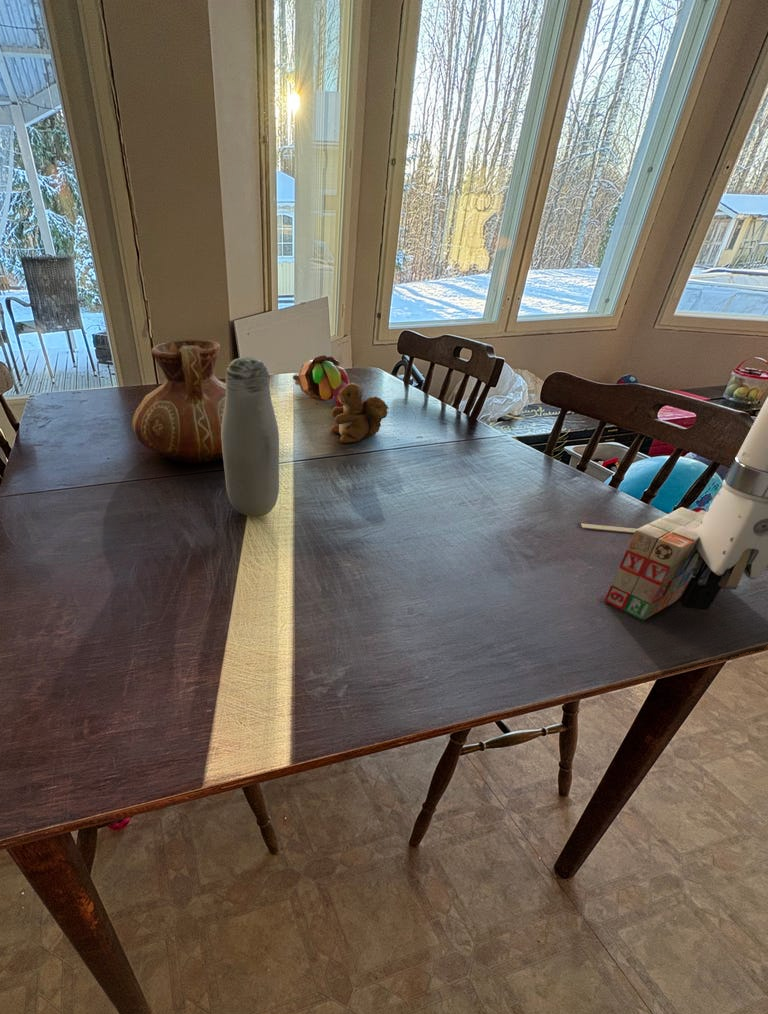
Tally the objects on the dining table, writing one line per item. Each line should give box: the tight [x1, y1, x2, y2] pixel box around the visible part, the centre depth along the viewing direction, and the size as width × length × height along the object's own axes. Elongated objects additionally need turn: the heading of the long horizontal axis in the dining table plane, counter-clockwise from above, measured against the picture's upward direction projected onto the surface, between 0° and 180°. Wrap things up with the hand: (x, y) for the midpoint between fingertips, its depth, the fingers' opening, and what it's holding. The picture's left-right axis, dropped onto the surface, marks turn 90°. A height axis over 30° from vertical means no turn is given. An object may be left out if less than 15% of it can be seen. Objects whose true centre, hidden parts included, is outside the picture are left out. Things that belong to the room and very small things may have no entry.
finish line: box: [580, 522, 638, 534], centre depth 98 cm, size 18×2×1 cm, turn 75°
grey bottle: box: [221, 356, 280, 518], centre depth 97 cm, size 10×10×28 cm
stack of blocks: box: [604, 506, 707, 621], centre depth 79 cm, size 21×6×12 cm, turn 124°
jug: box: [131, 338, 226, 464], centre depth 127 cm, size 30×30×25 cm
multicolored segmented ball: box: [292, 354, 350, 407], centre depth 167 cm, size 15×15×25 cm
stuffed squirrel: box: [330, 381, 390, 444], centre depth 136 cm, size 10×14×13 cm
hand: (692, 605), depth 74 cm, fingers closed
